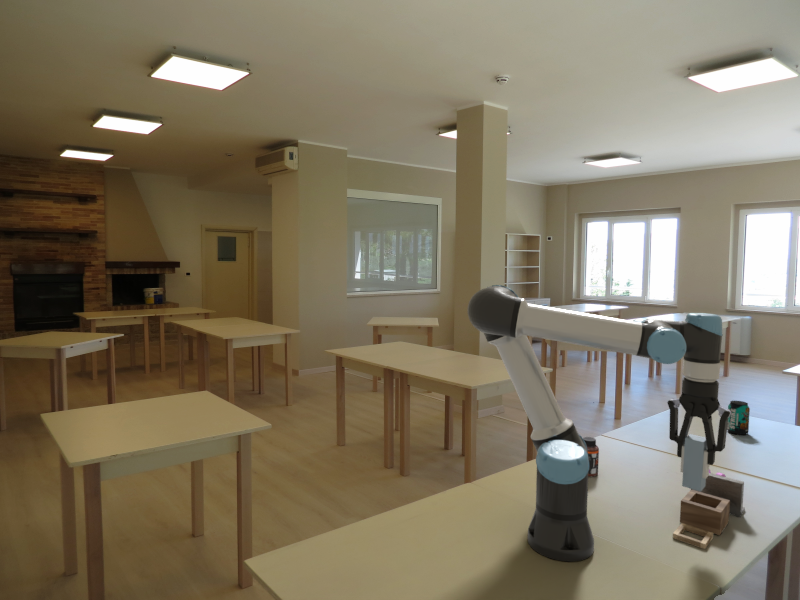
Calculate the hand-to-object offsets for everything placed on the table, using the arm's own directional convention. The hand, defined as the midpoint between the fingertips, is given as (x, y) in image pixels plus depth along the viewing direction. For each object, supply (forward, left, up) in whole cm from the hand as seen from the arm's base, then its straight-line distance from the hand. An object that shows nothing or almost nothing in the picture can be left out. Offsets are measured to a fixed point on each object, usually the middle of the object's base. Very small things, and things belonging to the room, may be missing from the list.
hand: (694, 473), depth 126 cm
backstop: (+23, 0, -16) cm, 28 cm away
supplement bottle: (+19, +35, -16) cm, 43 cm away
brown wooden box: (+10, 0, -16) cm, 19 cm away
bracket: (+35, +2, -17) cm, 39 cm away
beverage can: (+97, +10, -16) cm, 99 cm away
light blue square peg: (0, 0, -3) cm, 3 cm away
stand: (0, 0, -16) cm, 16 cm away
